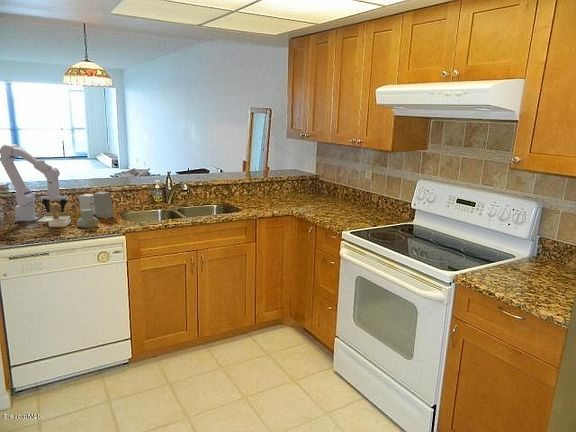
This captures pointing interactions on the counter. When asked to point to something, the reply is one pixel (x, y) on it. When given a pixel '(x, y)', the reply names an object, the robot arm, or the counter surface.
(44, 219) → the tray
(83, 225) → the air freshener
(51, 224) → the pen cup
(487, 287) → the counter surface
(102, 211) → the skincare box
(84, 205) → the supplement box
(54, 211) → the dowel
